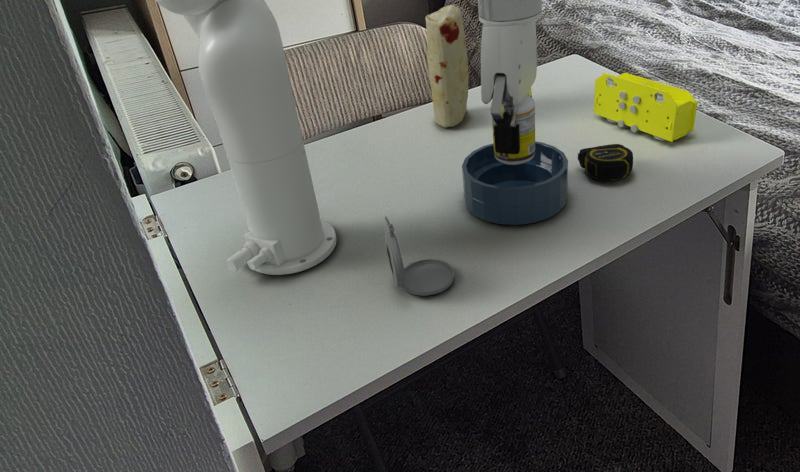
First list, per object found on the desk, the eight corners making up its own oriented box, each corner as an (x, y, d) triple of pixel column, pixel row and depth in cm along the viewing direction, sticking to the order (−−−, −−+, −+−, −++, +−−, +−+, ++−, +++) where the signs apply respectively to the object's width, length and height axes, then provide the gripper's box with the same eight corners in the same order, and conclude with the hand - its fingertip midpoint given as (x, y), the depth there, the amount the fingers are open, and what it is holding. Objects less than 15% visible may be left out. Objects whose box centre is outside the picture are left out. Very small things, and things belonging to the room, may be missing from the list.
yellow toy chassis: (591, 118, 112) (593, 71, 107) (615, 108, 114) (618, 62, 109) (669, 147, 100) (675, 96, 95) (693, 135, 102) (701, 85, 98)
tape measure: (621, 160, 98) (623, 138, 96) (639, 182, 93) (641, 158, 91) (576, 167, 98) (577, 145, 96) (591, 189, 93) (593, 165, 91)
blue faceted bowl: (541, 237, 84) (541, 197, 81) (447, 214, 92) (443, 177, 88) (582, 186, 94) (583, 148, 90) (493, 169, 101) (491, 134, 98)
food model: (464, 132, 113) (456, 16, 102) (427, 131, 115) (415, 17, 104) (475, 109, 121) (469, -1, 110) (440, 109, 123) (431, 0, 112)
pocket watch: (465, 277, 79) (460, 207, 74) (417, 314, 75) (407, 242, 69) (417, 254, 84) (408, 187, 79) (370, 287, 80) (357, 218, 74)
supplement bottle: (489, 152, 91) (485, 82, 85) (527, 145, 91) (526, 74, 86) (500, 170, 86) (497, 97, 81) (541, 162, 87) (540, 89, 81)
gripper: (500, -14, 86) (505, 114, 95) (455, 26, 73) (467, 169, 83) (557, -16, 83) (556, 117, 92) (521, 26, 70) (525, 175, 80)
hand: (514, 140), depth 88 cm, fingers closed on supplement bottle, 5 cm apart
